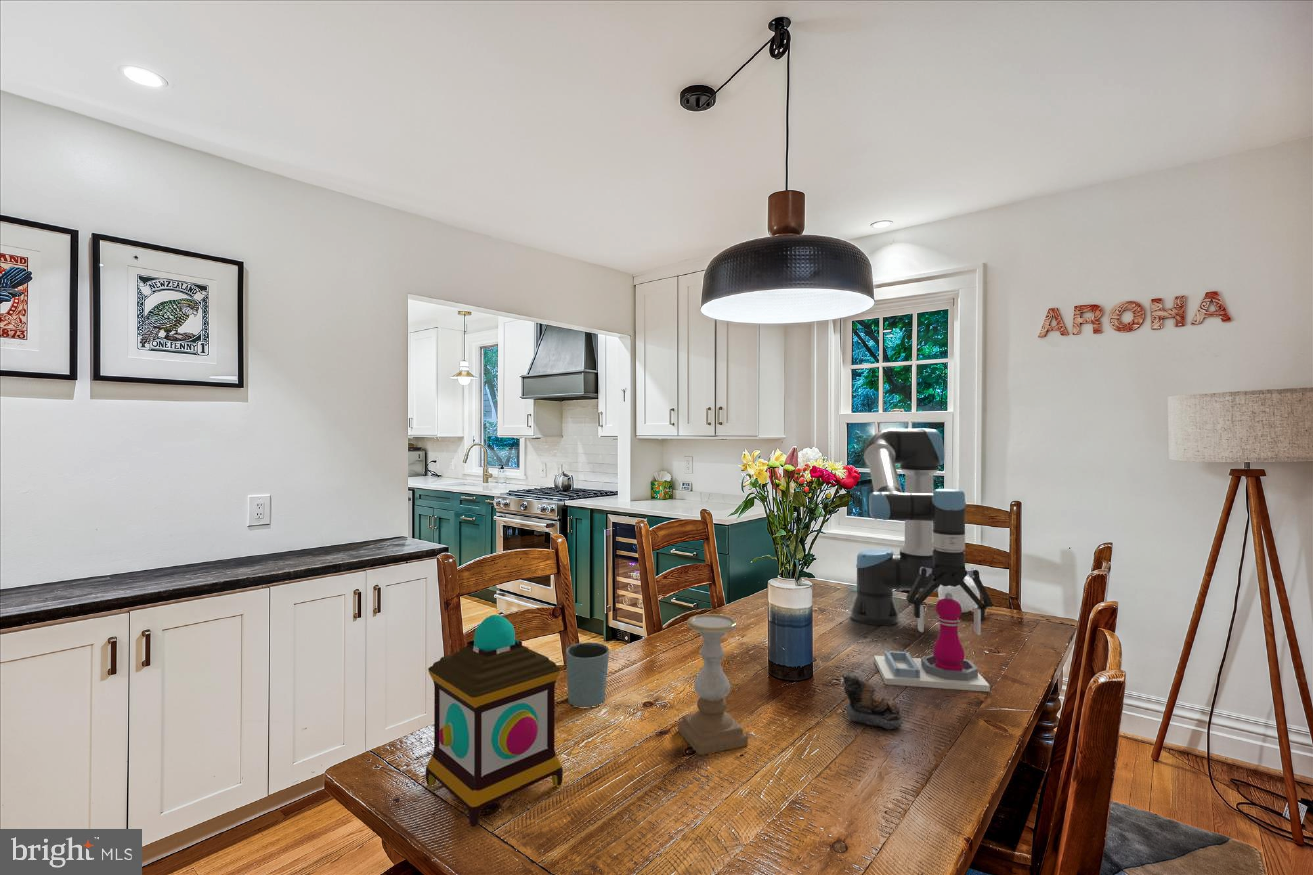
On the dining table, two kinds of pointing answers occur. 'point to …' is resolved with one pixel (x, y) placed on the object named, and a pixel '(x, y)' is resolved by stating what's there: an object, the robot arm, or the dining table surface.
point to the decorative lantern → (493, 718)
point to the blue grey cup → (587, 673)
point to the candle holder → (712, 692)
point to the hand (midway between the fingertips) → (948, 632)
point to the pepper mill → (948, 635)
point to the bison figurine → (870, 704)
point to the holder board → (927, 678)
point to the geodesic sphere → (960, 594)
